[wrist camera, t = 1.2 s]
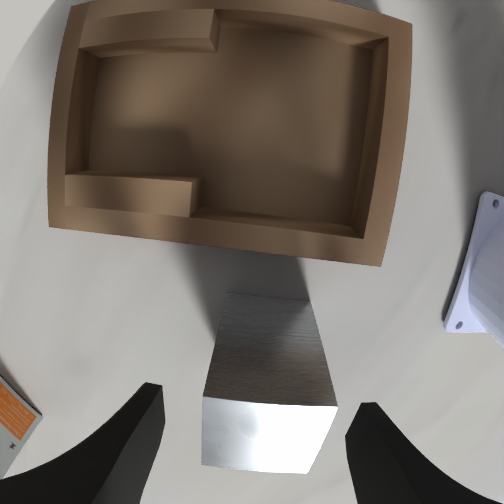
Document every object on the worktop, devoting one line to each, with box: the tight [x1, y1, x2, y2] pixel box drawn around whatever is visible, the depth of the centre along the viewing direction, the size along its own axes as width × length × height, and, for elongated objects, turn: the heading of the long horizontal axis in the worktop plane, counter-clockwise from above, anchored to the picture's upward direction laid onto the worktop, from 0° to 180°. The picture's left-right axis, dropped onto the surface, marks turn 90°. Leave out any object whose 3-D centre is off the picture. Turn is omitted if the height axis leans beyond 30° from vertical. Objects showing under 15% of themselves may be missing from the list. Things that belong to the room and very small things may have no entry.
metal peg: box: [202, 292, 338, 473], centre depth 12 cm, size 4×4×7 cm
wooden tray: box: [47, 0, 412, 267], centre depth 11 cm, size 14×10×2 cm
